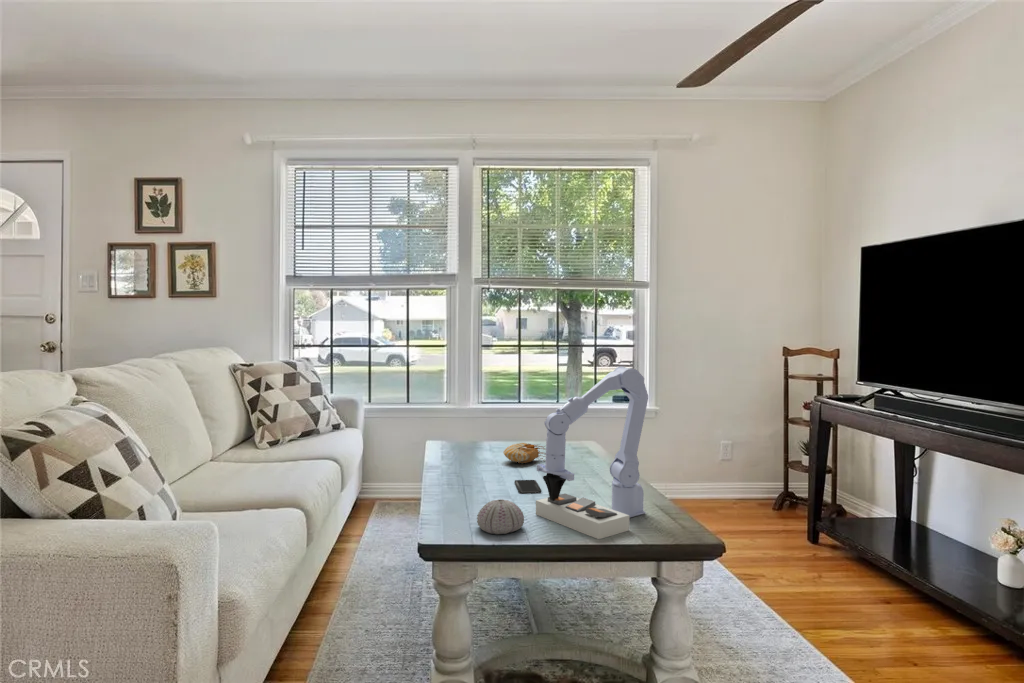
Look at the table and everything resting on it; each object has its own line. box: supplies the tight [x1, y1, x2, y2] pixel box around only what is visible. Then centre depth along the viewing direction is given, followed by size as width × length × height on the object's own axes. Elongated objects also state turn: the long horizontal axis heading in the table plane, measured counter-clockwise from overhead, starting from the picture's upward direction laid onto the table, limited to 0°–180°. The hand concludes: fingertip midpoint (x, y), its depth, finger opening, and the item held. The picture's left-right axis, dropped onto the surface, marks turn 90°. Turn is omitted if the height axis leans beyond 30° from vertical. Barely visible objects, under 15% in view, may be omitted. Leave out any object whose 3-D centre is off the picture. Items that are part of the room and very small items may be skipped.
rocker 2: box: [586, 508, 617, 518], centre depth 162 cm, size 7×5×2 cm
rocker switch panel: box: [535, 497, 630, 540], centre depth 169 cm, size 12×26×4 cm, turn 37°
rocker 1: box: [547, 493, 577, 505], centre depth 175 cm, size 7×5×2 cm
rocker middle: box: [566, 497, 597, 512], centre depth 169 cm, size 7×5×2 cm
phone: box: [514, 479, 542, 494], centre depth 206 cm, size 8×1×15 cm
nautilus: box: [503, 442, 546, 464], centre depth 246 cm, size 8×22×15 cm
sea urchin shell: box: [476, 498, 525, 535], centre depth 163 cm, size 13×14×8 cm
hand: (553, 500), depth 173 cm, fingers closed, pressing on rocker 1
